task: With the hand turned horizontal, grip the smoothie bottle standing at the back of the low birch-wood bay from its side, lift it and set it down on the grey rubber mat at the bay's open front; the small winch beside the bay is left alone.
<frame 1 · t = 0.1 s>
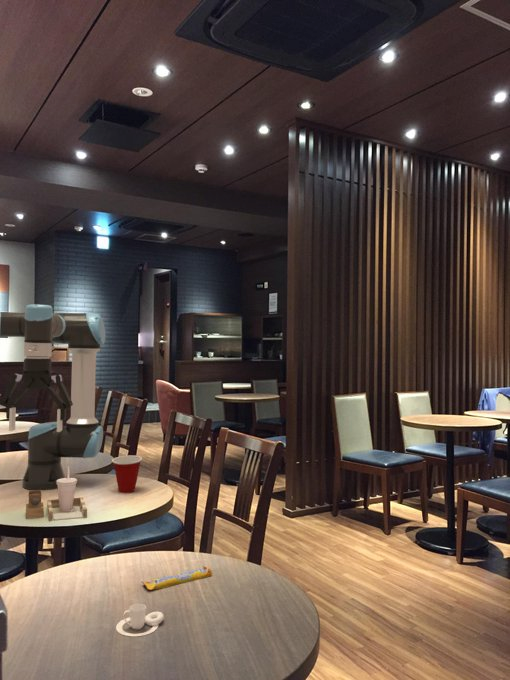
hand: (35, 430, 168), 28 cm above the table, tool pointing down, fingers open, 13 cm apart
mat: (67, 516, 178), on the table
candy bar: (178, 583, 132), on the table
plastic cup: (126, 491, 210), on the table
bay: (66, 512, 182), on the table
teacup and saucer: (149, 634, 109), on the table
winch: (34, 515, 179), on the table
smoothie: (66, 510, 185), resting in bay
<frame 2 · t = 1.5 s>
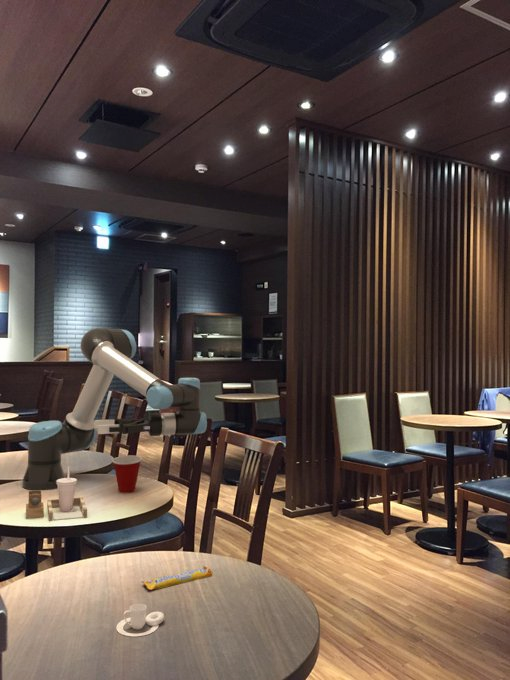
hand: (96, 426, 188), 26 cm above the table, tool horizontal, fingers open, 13 cm apart
nothing on the table moved.
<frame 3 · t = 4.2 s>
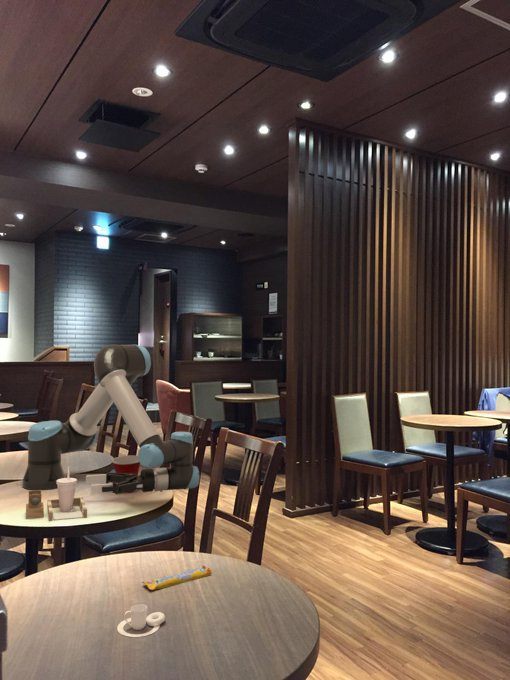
hand: (88, 484, 187), 8 cm above the table, tool horizontal, fingers open, 13 cm apart
nothing on the table moved.
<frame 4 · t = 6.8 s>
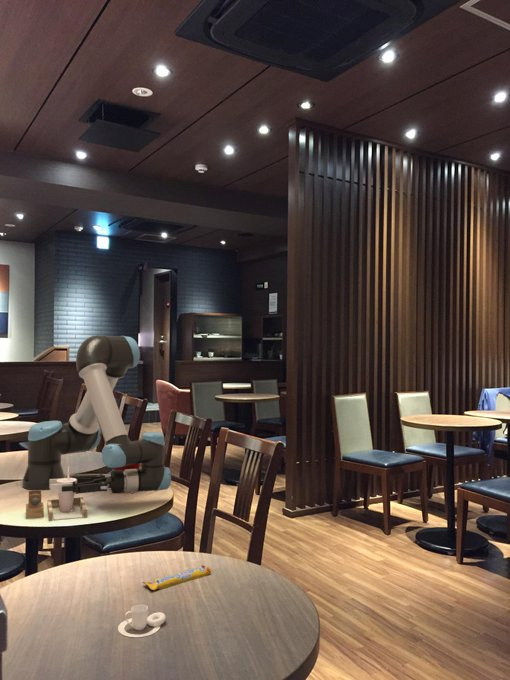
hand: (49, 486, 183), 8 cm above the table, tool horizontal, fingers closed on smoothie, 6 cm apart
smoothie: (66, 510, 185), resting in bay, touching gripper
everything else where it was.
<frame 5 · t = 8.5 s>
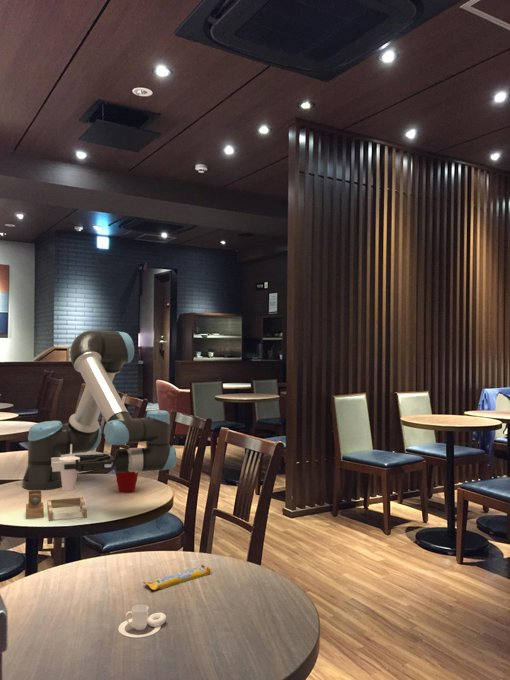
hand: (51, 464, 177), 16 cm above the table, tool horizontal, fingers closed on smoothie, 6 cm apart
smoothie: (68, 490, 179), point 8 cm above the table, touching gripper
everything else where it was.
when the fingers open (9 cm above the table, at t = 10.5 s): smoothie drops 1 cm, resting on mat.
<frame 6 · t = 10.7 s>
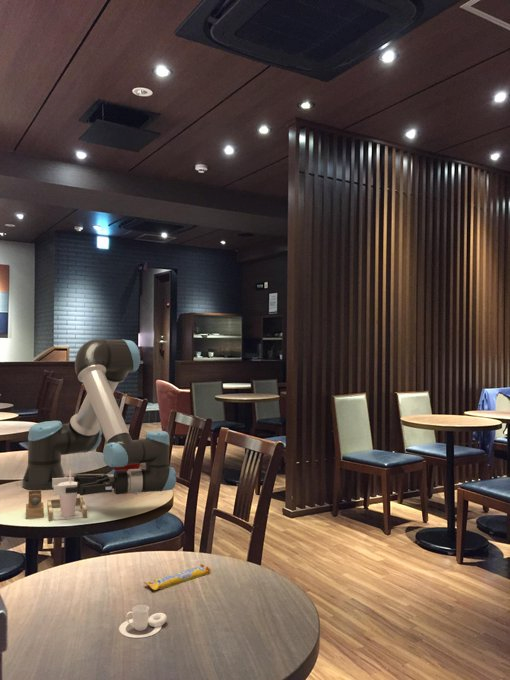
hand: (52, 486, 177), 9 cm above the table, tool horizontal, fingers open, 9 cm apart
smoothie: (67, 515, 178), resting on mat
everything else where it was.
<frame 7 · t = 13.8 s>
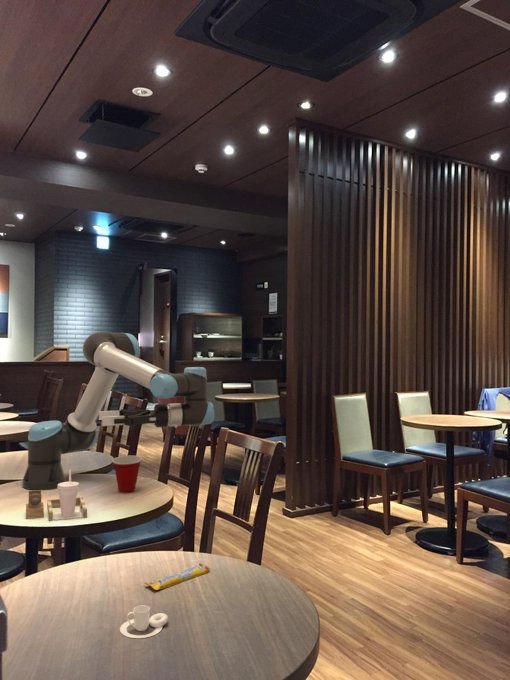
hand: (100, 418, 183), 30 cm above the table, tool horizontal, fingers open, 13 cm apart
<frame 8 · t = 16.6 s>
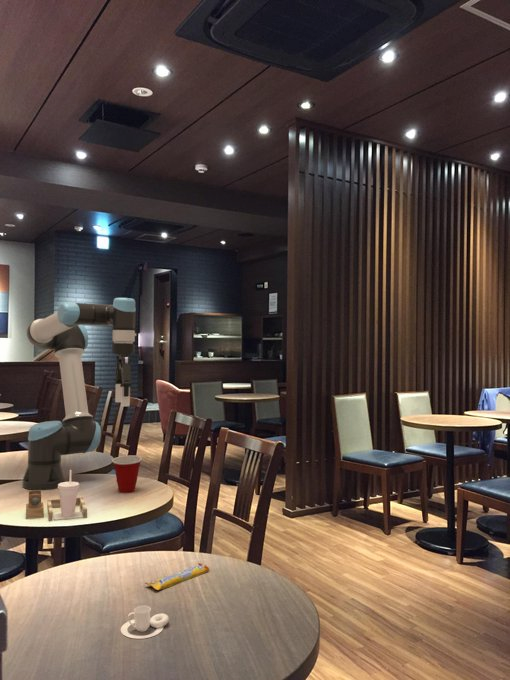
hand: (122, 404, 199), 33 cm above the table, tool pointing down, fingers open, 13 cm apart
at the end: smoothie 0.0 cm off-centre on the mat, point 0.1 cm above the mat's base; smoothie tilted 0°; the gripper is holding nothing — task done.
